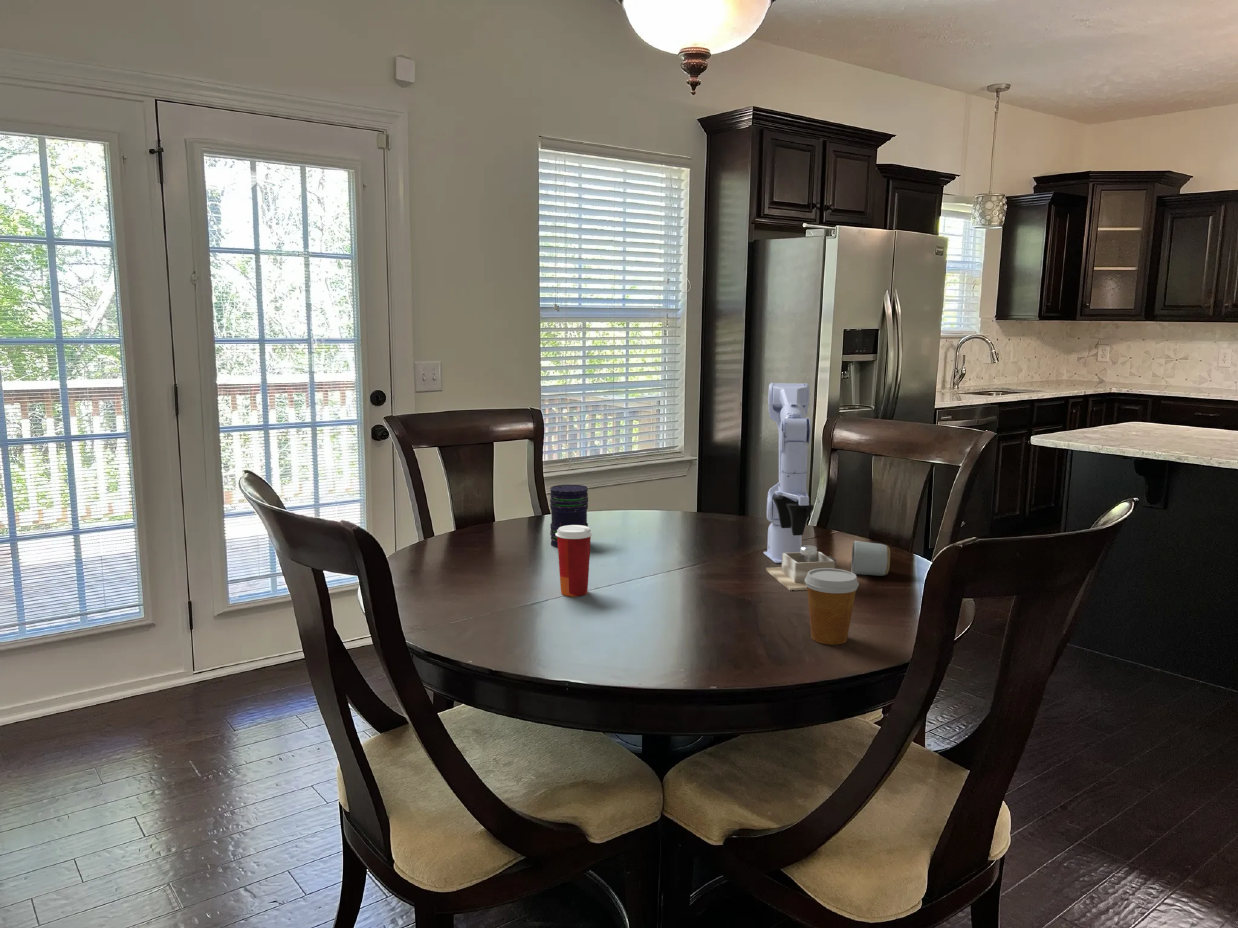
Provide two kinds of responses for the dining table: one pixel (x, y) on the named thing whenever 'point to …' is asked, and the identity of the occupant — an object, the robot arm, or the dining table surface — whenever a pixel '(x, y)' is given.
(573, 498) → the storage jar
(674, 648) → the dining table surface
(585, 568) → the paper cup
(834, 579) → the disposable coffee cup
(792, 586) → the base
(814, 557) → the plunger
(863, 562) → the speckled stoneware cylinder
